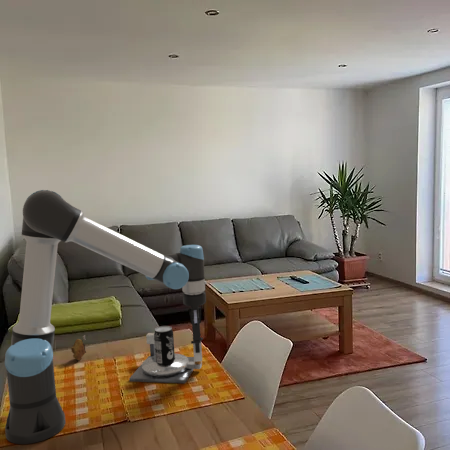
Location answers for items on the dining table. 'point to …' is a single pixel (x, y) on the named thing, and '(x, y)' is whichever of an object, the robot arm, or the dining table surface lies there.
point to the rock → (78, 348)
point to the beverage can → (164, 345)
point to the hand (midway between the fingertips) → (198, 360)
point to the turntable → (169, 366)
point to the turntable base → (176, 378)
